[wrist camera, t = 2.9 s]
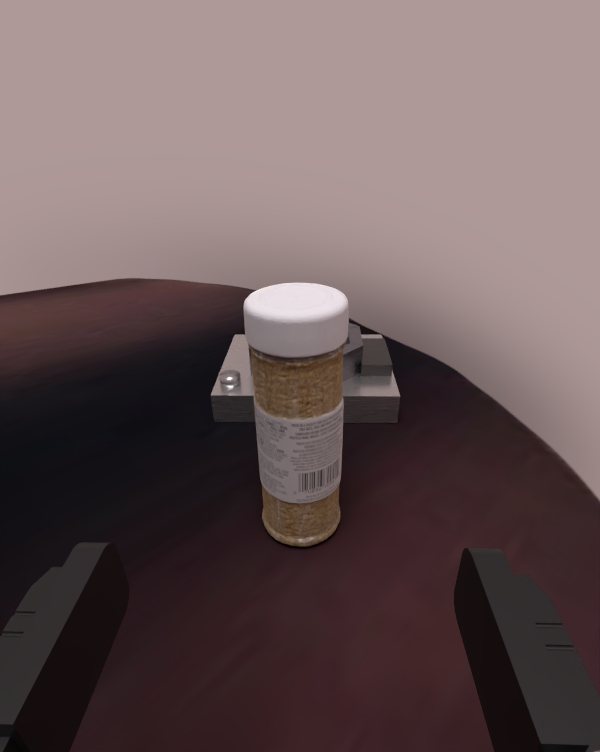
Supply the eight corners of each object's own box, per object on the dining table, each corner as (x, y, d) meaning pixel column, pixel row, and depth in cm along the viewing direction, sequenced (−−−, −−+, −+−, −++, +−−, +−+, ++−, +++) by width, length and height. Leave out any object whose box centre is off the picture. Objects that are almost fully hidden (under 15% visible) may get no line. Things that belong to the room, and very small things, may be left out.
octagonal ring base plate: (214, 421, 34) (206, 366, 32) (236, 357, 44) (232, 311, 41) (397, 423, 34) (403, 367, 31) (379, 357, 43) (383, 310, 41)
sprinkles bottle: (326, 484, 28) (330, 275, 21) (351, 541, 24) (365, 308, 18) (255, 498, 27) (236, 284, 20) (269, 559, 23) (250, 320, 17)
